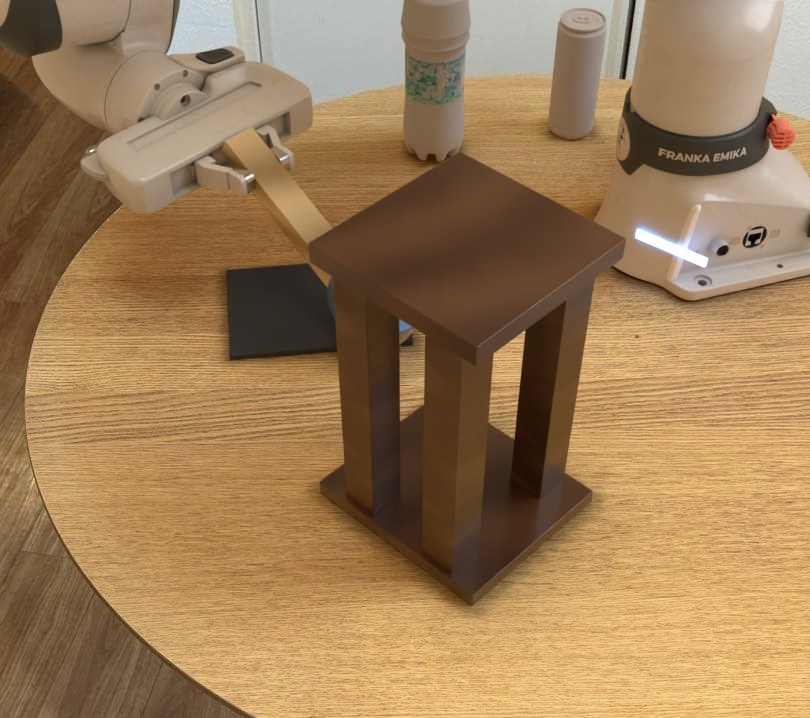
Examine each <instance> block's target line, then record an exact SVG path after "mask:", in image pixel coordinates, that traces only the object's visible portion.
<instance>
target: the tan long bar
mask: <svg viewBox="0 0 810 718" xmlns="http://www.w3.org/2000/svg"><path fill="white" fill-rule="evenodd" d="M221 154H222V156H223V157H224V158H225V159H226V161H227V162H228V163H229V164H230V166H231V167H232V168H233V169H234V168H236V167H238V166H240V165H241V166H243V167H244V168H246V170H250V171H251V172H252V173H253V174H254V176H255V183H254V184H255V185H256V189H255V190H254V191H252V192H251V194H252V195H253V196H254V197H255V199H256V200H257V201H258V202H259V204H260V205H261V206H262V208H263V209H264V210H265V211H266V213H267V214H268V216H270V218H271V219H272V220H273V221H274V223H275V224H276V225H277V226H278V227H279V229H280V230H281V231H282V233H283V234H284V235H285V237H286V238H287V239H288V240H289V241H290V243H291V244H292V245H293V247H294V248H295V249H296V250H297V252H298V253H299V254H300V255H301V257H302V258H303V259H304V260H305V262H306V264H307V263H308V264H309V265H310V266H311V268H312V269H313V270H314V272H315V273H316V274H317V275H318V277H319V278H320V279H321V280H322V282H323V283H324V284H325V285H326V287H327V300H328V305H329V308H330V311H331V313H332V315H333V317H334V319H335V307H334V291H333V277H332V276H331V275H329V274H327V273H326V272H324V271H323V270H321V269H320V268H318V267H316V266H315V265H313V264H312V263H310V259H309V246H308V243H309V242H311V241H313V240H314V239H316V238H318V237H319V236H321V235H322V234H324V233H326V232H327V231H329V230H331V229H332V228H333V227H332V226H331V225H330V223H329V222H328V221H327V219H326V218H325V217H324V215H323V214H322V213H321V212H320V211H319V209H318V208H317V207H316V205H315V204H314V203H313V202H312V200H311V199H310V197H308V196H307V193H305V191H304V190H303V189H302V188H301V187H300V186H299V184H298V183H297V181H296V180H295V179H294V178H293V176H292V175H291V174H290V172H289V171H288V172H287V170H286V169H285V168H284V166H283V165H282V164H281V163H280V162H279V160H278V159H277V158H276V156H275V155H274V154H273V153H272V151H271V150H270V149H269V148H268V146H267V145H266V144H265V142H264V141H263V140H262V139H261V137H260V136H259V135H258V134H257V132H256V131H255V130H254V129H253V127H250V128H248V129H247V130H245V131H243V132H241V133H239V134H237V135H235V136H233V137H231V138H229V139H227V140H226V141H225V142H224V145H223V148H222V150H221ZM413 332H414V328H413V327H412V326H410V325H408V324H407V323H405V322H404V321H402V320H401V319H399V344H401V343H402V342H404V341H405V340H406V339H407V338H408V337H409V336H410V335H411V333H412V334H413Z"/></svg>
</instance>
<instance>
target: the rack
mask: <svg viewBox="0 0 810 718" xmlns="http://www.w3.org/2000/svg"><path fill="white" fill-rule="evenodd" d="M593 221H594V220H591V218H587V217H586V216H584V215H582V214H580V213H578V212H576V211H574V210H572V209H571V208H568V207H566V206H565V205H563V204H561V203H559V202H557V201H555V200H553V199H552V198H549V197H548V196H546V195H543V194H542V193H540V192H538V191H536V190H534V189H532V188H530V187H528V186H526V185H525V184H523V183H521V182H519V181H517V180H515V179H513V178H512V177H509V176H508V175H505V174H504V173H501V172H500V171H498V170H496V169H495V168H493V167H490V166H489V165H486V164H485V163H483V162H481V161H479V160H476V158H473V157H471V156H469V155H467V154H465V153H464V152H462V151H458V152H457V153H456V154H455V155H453V156H449V157H448V158H445V159H444V160H443V161H440V163H438V164H437V165H435V166H433V167H431V168H429V169H428V170H427V171H425V172H424V173H422V174H420V175H419V176H416V177H415V178H413V179H412V180H410V181H409V182H406V183H405V184H403V185H402V186H400V187H398V188H397V189H395V190H393V191H392V192H390V193H389V194H387V195H385V196H383V197H382V198H380V199H379V200H377V201H375V202H373V203H372V204H370V205H369V206H367V207H365V208H363V209H362V210H360V211H359V212H357V213H356V214H354V215H352V216H351V217H349V218H347V219H346V220H344V221H342V222H341V223H339V224H338V225H336V226H334V227H332V229H331V230H329V231H327V232H326V233H324V234H322V235H321V236H319V237H318V238H316V239H314V240H313V241H311V242H309V243H308V246H309V259H310V263H312V264H313V265H315V266H316V267H318V268H320V269H321V270H323V271H324V272H326V273H327V274H329V275H331V276H332V277H333V291H334V307H335V323H336V339H337V351H336V352H337V353H336V354H337V355H336V356H337V368H338V369H337V370H338V384H339V402H340V417H341V433H342V434H341V435H342V448H343V464H341V466H338V467H337V468H336V469H335V470H333V471H332V472H331V473H329V474H327V476H325V477H324V478H322V479H321V480H320V481H319V492H320V493H321V494H323V495H324V496H325V497H326V498H328V499H329V500H331V501H332V502H333V503H334V504H336V505H337V506H339V507H340V508H341V509H342V510H343V511H345V512H346V513H348V514H349V515H351V516H352V517H353V518H354V519H355V520H357V521H358V522H359V523H360V524H362V525H364V526H365V527H366V528H368V530H370V531H372V533H374V534H376V535H377V536H378V537H380V538H381V539H382V540H383V541H385V542H386V543H387V544H389V545H390V546H392V547H393V548H394V549H396V550H397V551H398V552H399V553H401V554H402V555H403V556H405V557H406V558H407V559H409V560H410V561H411V562H412V563H414V564H415V565H416V566H418V567H419V568H420V569H422V570H423V571H425V572H426V573H427V574H429V575H430V576H431V577H433V578H434V579H435V580H436V581H438V582H439V583H441V584H442V585H443V586H444V587H446V588H447V589H448V590H450V591H451V592H452V593H454V594H456V595H457V596H458V597H459V598H461V599H462V600H463V601H465V602H466V603H467V604H469V605H470V606H471V607H472V606H474V605H475V604H476V603H477V602H478V601H480V600H481V599H482V598H483V597H484V596H485V595H486V594H488V593H489V592H490V591H491V590H492V589H493V588H494V587H495V586H496V585H498V584H499V583H500V582H501V581H502V580H504V579H505V578H506V576H508V575H509V574H511V572H513V571H514V570H515V569H516V568H517V567H518V566H519V565H520V564H522V563H523V562H524V561H525V560H526V559H527V558H529V557H530V556H531V555H532V554H533V553H534V552H535V551H536V550H538V549H539V548H541V546H542V545H543V544H544V543H546V542H547V541H548V540H549V539H550V538H551V537H552V536H553V535H555V534H556V533H557V532H558V531H560V530H561V528H563V527H564V526H565V525H566V524H567V523H569V521H571V520H572V519H573V518H574V517H575V516H576V515H578V513H580V512H581V511H582V510H583V509H584V508H585V507H586V506H588V505H589V504H590V503H591V502H592V500H593V495H594V491H593V490H592V489H591V488H589V487H588V486H586V485H585V484H583V483H581V482H580V481H578V480H577V479H575V478H574V477H572V476H570V475H569V474H568V473H566V468H567V462H568V454H569V449H570V442H571V435H572V429H573V423H574V416H575V409H576V402H577V396H578V392H579V391H578V390H579V383H580V377H581V371H582V365H583V358H584V351H585V346H586V338H587V333H588V327H589V320H590V314H591V306H592V301H593V293H594V287H595V282H596V278H598V277H599V276H601V275H603V273H605V272H606V271H609V269H610V268H612V267H614V266H613V265H614V264H616V263H617V262H618V261H620V260H621V259H622V258H623V255H624V249H625V244H626V238H624V237H622V236H620V235H618V234H616V233H614V232H612V231H610V230H609V229H607V228H605V227H603V226H601V225H599V224H597V223H595V222H593ZM399 319H401V320H402V321H404V322H405V323H407V324H408V325H410V326H412V327H413V328H412V329H415V330H416V331H418V332H420V333H421V334H423V335H424V377H423V378H424V379H423V380H424V381H423V382H424V383H423V386H424V387H423V404H422V405H421V406H420V407H419V408H417V409H416V410H415V411H413V412H412V413H411V414H409V415H408V416H407V417H405V418H404V419H402V420H401V377H400V376H401V375H400V374H401V373H400V372H401V370H400V369H401V368H400V367H401V366H400V365H401V363H400V359H401V357H400V351H401V350H400V349H401V348H400V346H399ZM522 333H524V340H523V351H522V358H521V359H522V361H521V371H520V380H519V389H518V390H519V391H518V399H517V410H516V418H515V429H514V437H513V438H512V437H511V436H510V435H508V434H507V433H506V432H503V430H501V429H499V428H497V427H496V426H494V425H493V424H491V423H489V421H490V420H489V419H490V418H489V417H490V405H491V404H490V403H491V393H492V379H493V365H494V354H495V353H496V352H498V351H499V350H501V349H502V348H504V347H505V346H506V345H507V344H509V343H510V342H512V341H513V340H514V339H516V338H517V337H519V336H520V335H521V334H522Z"/></svg>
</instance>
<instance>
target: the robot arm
mask: <svg viewBox="0 0 810 718" xmlns="http://www.w3.org/2000/svg"><path fill="white" fill-rule="evenodd" d="M180 5H181V0H0V47H2V48H3V49H5V50H6V51H8V52H9V53H11V54H13V55H15V56H17V57H19V58H22V59H27V58H31V61H32V64H33V67H34V70H35V73H36V74H37V76H38V77H39V79H40V80H41V82H42V83H43V85H44V86H45V87H46V89H47V91H48V92H49V93H50V94H52V96H53V97H54V98H55V99H56V100H57V101H59V103H61V105H63V106H64V107H65V108H67V109H68V110H69V111H71V112H72V113H74V114H75V115H76V116H77V117H79V118H81V119H82V120H83V121H85V122H86V123H88V124H90V125H91V126H93V127H95V128H98V129H100V130H102V131H107V132H108V133H109V134H110V135H111V136H109V137H107V138H105V139H104V140H102V141H100V143H96V144H93V145H91V146H89V147H88V148H87V149H86V150H85V153H84V154H85V155H83V156H82V158H81V159H80V162H79V163H80V167H81V169H82V171H83V172H84V173H85V174H86V175H88V176H90V177H91V178H93V179H95V180H97V181H101V182H103V183H104V185H105V187H106V188H107V189H108V191H109V192H110V193H111V194H112V195H113V196H114V197H115V198H116V199H117V200H118V201H119V202H120V203H122V204H123V205H124V206H125V207H126V208H127V209H129V210H130V211H131V212H133V213H134V214H138V215H152V214H154V213H157V212H159V211H160V210H162V209H164V208H166V207H168V206H170V205H171V204H173V203H175V202H177V201H179V200H181V199H183V198H184V197H187V196H188V195H190V194H192V193H193V192H196V191H197V190H199V189H201V188H202V187H203V188H204V189H206V190H213V191H214V190H215V191H226V192H232V193H233V194H235V195H236V196H238V197H240V198H244V197H246V196H247V195H249V194H250V193H252V191H254V190H255V189H256V185H255V184H254V183H255V176H254V174H253V173H252V172H251V171H250V170H246V168H244V167H243V166H241V165H240V166H238V167H236V168H234V169H233V168H232V167H231V166H230V164H229V163H228V162H227V161H226V159H225V158H224V157H223V156H222V154H221V150H222V148H223V145H224V142H225V141H226V140H227V139H229V138H231V137H233V136H235V135H237V134H239V133H241V132H243V131H245V130H247V129H248V128H250V127H253V129H254V130H255V131H256V132H257V134H258V135H259V136H260V137H261V139H262V140H263V141H264V142H265V144H266V145H267V146H268V148H269V149H270V150H271V151H272V153H273V154H274V155H275V156H276V158H277V159H278V160H279V162H280V163H281V164H282V165H283V166H284V168H285V169H286V170H287V172H288V173H289V172H290V171H292V170H294V168H295V166H296V165H295V155H294V153H293V151H292V150H291V149H289V148H288V147H285V146H284V145H282V144H284V143H286V142H288V141H290V140H292V139H293V138H295V137H297V136H299V135H301V134H303V133H304V132H308V131H309V130H310V129H311V128H312V127H313V125H314V107H313V97H312V92H311V90H310V88H309V87H308V86H307V85H306V83H304V82H302V81H301V80H300V79H297V78H296V77H293V76H292V75H290V74H288V73H286V72H285V71H283V70H281V69H279V68H276V67H275V66H272V65H270V64H267V63H265V62H262V61H261V62H260V61H255V60H254V61H251V60H250V61H247V58H246V55H245V54H246V53H245V52H244V51H243V50H242V49H241V48H239V47H236V46H232V45H230V46H229V45H227V46H223V47H219V48H215V49H210V50H204V51H199V52H191V53H171V54H168V55H167V53H168V52H169V50H170V48H171V46H172V42H173V38H174V35H175V30H176V25H177V21H178V15H179V13H180ZM784 6H785V0H644V6H643V13H642V19H641V26H640V31H639V37H638V44H637V51H636V57H635V62H634V63H635V64H634V68H633V75H632V81H631V85H630V86H629V88H628V89H627V91H626V93H625V98H624V101H623V107H622V112H621V116H620V118H619V122H618V127H617V135H616V144H615V145H616V147H615V149H616V161H615V165H614V170H613V173H612V175H611V180H610V182H609V185H608V188H607V190H606V194H605V196H604V197H603V201H602V202H601V205H600V207H599V210H598V211H597V213H596V215H595V217H594V219H593V220H592V221H593V222H595V223H597V224H599V225H601V226H603V227H605V228H607V229H609V230H610V231H612V232H614V233H616V234H618V235H620V236H622V237H624V238H626V244H625V249H624V255H623V258H622V259H621V260H620V261H618V262H617V263H616V264H614V265H613V266H612V267H614V268H616V269H617V270H619V271H621V272H623V273H624V274H627V275H628V276H631V277H634V278H636V279H639V280H642V281H646V282H648V283H652V284H655V285H658V286H660V287H662V288H663V289H665V290H667V292H670V293H671V294H672V295H675V296H676V297H678V298H680V299H682V300H685V301H698V300H703V299H709V298H711V297H713V298H714V297H717V296H721V295H725V294H730V293H734V292H739V291H743V290H748V289H752V288H757V287H761V286H766V285H770V284H774V283H779V282H784V281H788V280H792V279H797V278H802V277H806V276H810V176H809V174H808V172H807V170H806V169H805V168H804V166H803V165H802V163H801V161H799V159H798V158H797V157H796V156H795V155H794V154H793V153H792V152H791V151H790V150H789V149H788V148H790V145H793V144H794V141H796V133H795V131H794V129H793V128H792V127H791V125H790V123H789V121H788V120H787V119H785V118H781V117H780V118H777V115H778V110H777V108H776V107H775V106H774V104H773V103H772V102H771V101H770V100H768V98H766V97H765V96H764V93H765V89H766V85H765V84H767V81H768V77H769V73H770V69H771V65H772V62H773V57H774V53H775V48H776V44H777V40H778V37H779V33H780V30H781V26H782V21H783V14H784V13H783V12H784ZM768 72H769V73H768ZM767 76H768V77H767ZM766 80H767V81H766ZM764 88H765V89H764ZM763 92H764V93H763Z"/></svg>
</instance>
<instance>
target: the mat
mask: <svg viewBox="0 0 810 718" xmlns="http://www.w3.org/2000/svg"><path fill="white" fill-rule="evenodd" d="M225 279H226V280H225V281H226V282H225V283H226V304H227V307H226V308H227V328H228V329H227V331H228V351H229V352H228V353H229V360H230V361H236V360H237V361H238V360H246V359H247V360H249V359H259V358H270V357H271V358H272V357H282V356H294V355H295V356H296V355H305V354H318V353H331V352H337V339H336V323H335V319H334V317H333V315H332V313H331V311H330V308H329V305H328V300H327V287H326V285H325V284H324V283H323V282H322V280H321V279H320V278H319V277H318V275H317V274H316V273H315V272H314V270H313V269H312V268H311V266H310V265H309V264H308V263H307V262H306V263H299V264H298V263H297V264H284V265H283V264H282V265H272V266H271V265H269V266H257V267H245V268H244V267H243V268H233V269H225ZM412 345H414V339H413V332H412V333H411V335H410V336H409V337H408V338H407V339H406V340H405V341H404V342H402V343H401V344H399V347H402V346H412Z"/></svg>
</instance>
